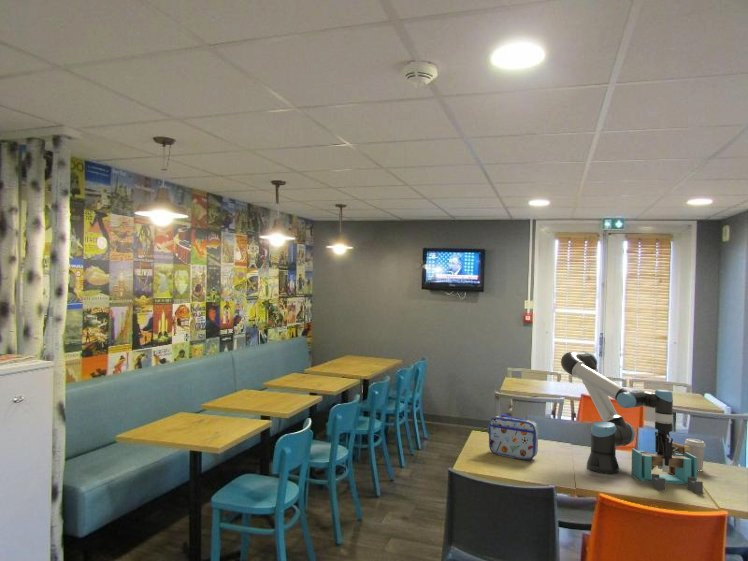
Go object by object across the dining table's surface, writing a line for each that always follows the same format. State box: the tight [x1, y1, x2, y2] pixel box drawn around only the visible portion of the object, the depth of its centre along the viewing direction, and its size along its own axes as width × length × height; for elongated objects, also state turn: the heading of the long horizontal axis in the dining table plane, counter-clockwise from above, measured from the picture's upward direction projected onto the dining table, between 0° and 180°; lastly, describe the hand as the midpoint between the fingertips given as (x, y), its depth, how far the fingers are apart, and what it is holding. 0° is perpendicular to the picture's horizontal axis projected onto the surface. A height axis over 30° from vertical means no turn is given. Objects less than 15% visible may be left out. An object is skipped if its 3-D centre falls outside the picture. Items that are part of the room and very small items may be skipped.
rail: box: [642, 453, 687, 468], centre depth 241 cm, size 22×4×4 cm, turn 83°
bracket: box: [631, 447, 698, 486], centre depth 241 cm, size 26×9×13 cm, turn 83°
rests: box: [651, 473, 704, 495], centre depth 228 cm, size 19×7×5 cm, turn 83°
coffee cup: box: [684, 438, 707, 472], centre depth 261 cm, size 10×10×15 cm
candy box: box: [667, 441, 689, 475], centre depth 250 cm, size 9×4×15 cm, turn 26°
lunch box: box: [486, 413, 539, 461], centre depth 271 cm, size 28×10×22 cm, turn 58°
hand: (663, 470), depth 241 cm, fingers closed on rail, 4 cm apart
